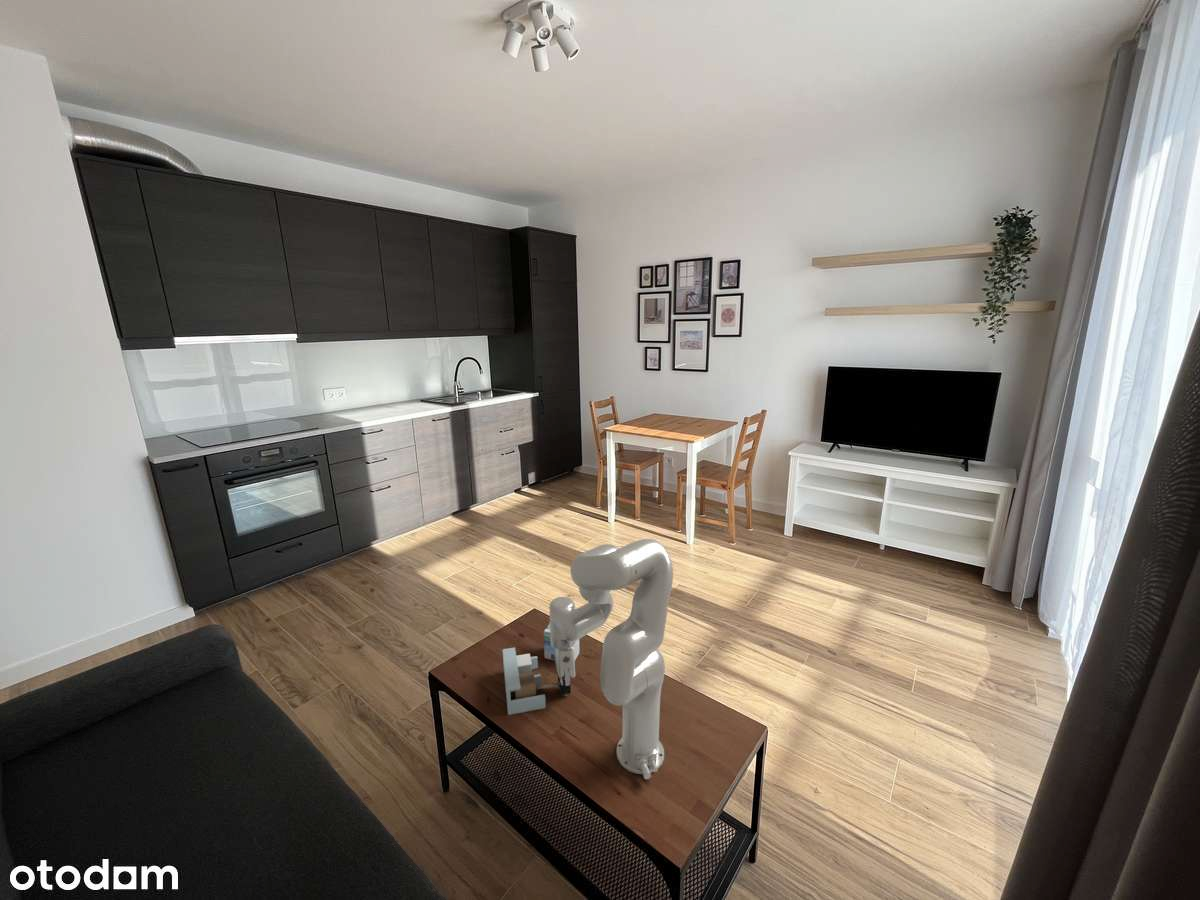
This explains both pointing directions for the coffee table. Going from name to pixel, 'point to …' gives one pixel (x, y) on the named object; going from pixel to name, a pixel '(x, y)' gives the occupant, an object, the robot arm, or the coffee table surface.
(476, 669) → the coffee table surface
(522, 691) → the tethered block
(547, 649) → the light bulb box
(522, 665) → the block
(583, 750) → the coffee table surface
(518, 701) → the lane cubby
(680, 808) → the coffee table surface
